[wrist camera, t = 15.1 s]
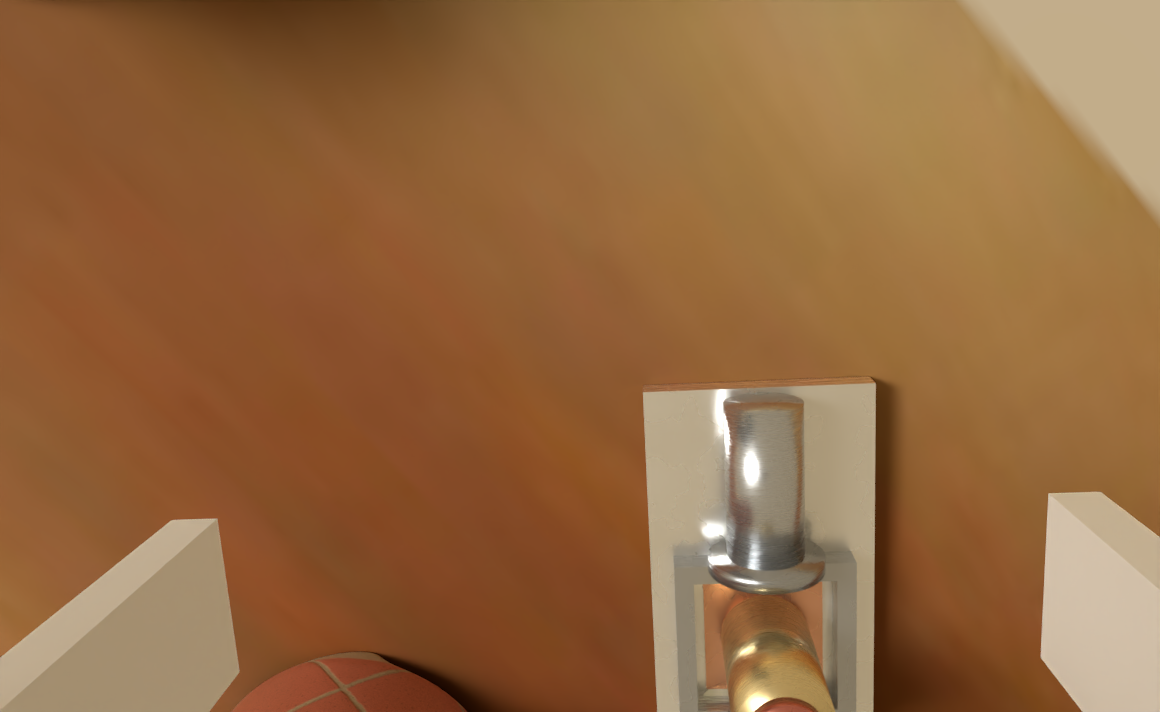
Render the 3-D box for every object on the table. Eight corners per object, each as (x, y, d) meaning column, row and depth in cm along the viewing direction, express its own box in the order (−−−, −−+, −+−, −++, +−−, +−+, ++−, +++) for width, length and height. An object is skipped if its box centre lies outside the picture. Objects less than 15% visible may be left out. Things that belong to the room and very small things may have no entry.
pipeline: (642, 385, 52) (642, 418, 46) (869, 376, 51) (900, 409, 45) (663, 836, 58) (665, 921, 52) (866, 835, 57) (894, 921, 51)
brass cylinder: (719, 595, 53) (734, 694, 43) (809, 594, 52) (843, 695, 43) (721, 675, 54) (735, 789, 44) (809, 675, 53) (842, 790, 44)
